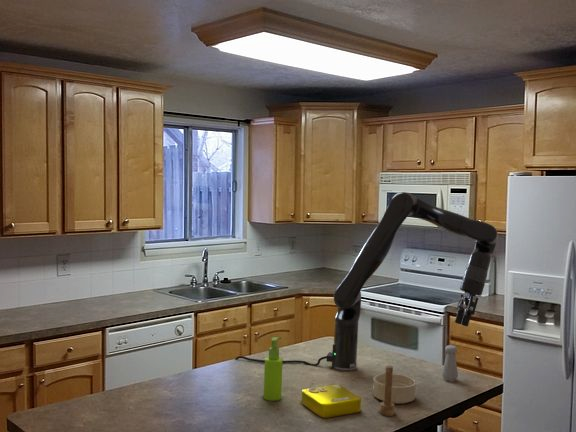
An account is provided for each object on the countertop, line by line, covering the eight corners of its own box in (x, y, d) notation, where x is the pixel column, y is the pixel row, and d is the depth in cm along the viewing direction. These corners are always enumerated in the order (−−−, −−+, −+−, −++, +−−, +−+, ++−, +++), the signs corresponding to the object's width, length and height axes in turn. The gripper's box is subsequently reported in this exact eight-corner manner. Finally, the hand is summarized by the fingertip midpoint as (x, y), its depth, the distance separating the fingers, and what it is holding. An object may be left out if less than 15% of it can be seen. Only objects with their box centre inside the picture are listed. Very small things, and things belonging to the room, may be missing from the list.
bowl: (370, 402, 195) (371, 384, 195) (374, 388, 209) (375, 371, 208) (414, 407, 192) (415, 389, 191) (415, 392, 205) (416, 376, 205)
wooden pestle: (379, 414, 184) (381, 368, 183) (380, 409, 189) (382, 364, 188) (393, 416, 183) (395, 369, 182) (394, 411, 187) (396, 365, 187)
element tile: (322, 419, 179) (323, 403, 179) (299, 402, 192) (299, 387, 192) (363, 412, 186) (363, 397, 186) (337, 396, 199) (338, 382, 199)
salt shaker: (456, 378, 223) (458, 344, 223) (459, 383, 218) (461, 348, 217) (440, 377, 224) (442, 343, 223) (443, 382, 218) (444, 347, 217)
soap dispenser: (284, 395, 198) (286, 336, 197) (277, 401, 192) (279, 341, 191) (268, 392, 200) (270, 334, 199) (260, 399, 194) (263, 339, 193)
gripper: (458, 276, 212) (445, 319, 211) (469, 276, 198) (455, 322, 196) (478, 283, 212) (465, 326, 210) (491, 283, 197) (477, 330, 196)
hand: (461, 324), depth 203 cm, fingers open, 8 cm apart
